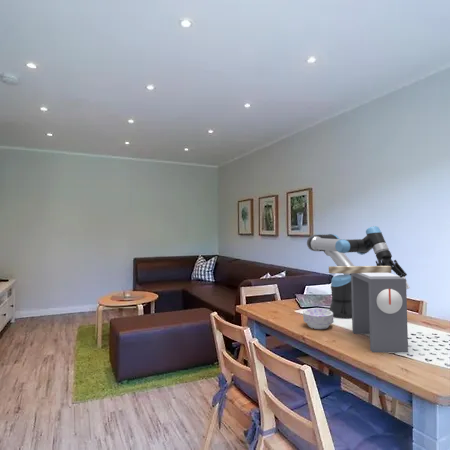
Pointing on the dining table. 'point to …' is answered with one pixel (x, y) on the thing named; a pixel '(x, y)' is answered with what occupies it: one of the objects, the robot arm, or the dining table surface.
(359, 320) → the scale shelf
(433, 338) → the dining table surface
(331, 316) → the paper bowls
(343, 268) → the beech bar
